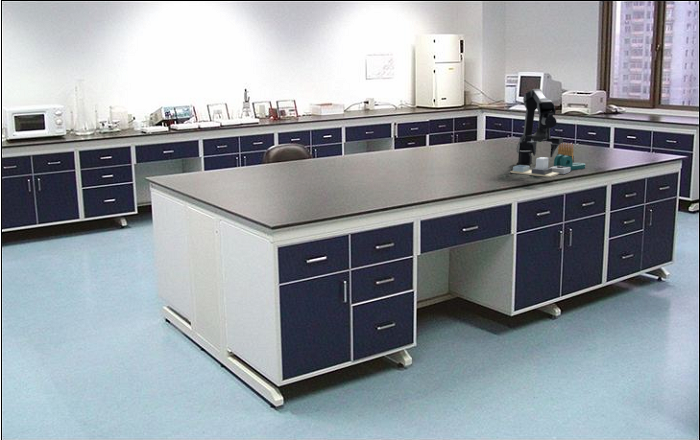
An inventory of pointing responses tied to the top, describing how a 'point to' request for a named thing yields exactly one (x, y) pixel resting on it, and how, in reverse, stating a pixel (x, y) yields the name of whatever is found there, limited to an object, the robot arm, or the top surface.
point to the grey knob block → (561, 169)
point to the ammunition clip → (566, 150)
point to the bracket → (561, 161)
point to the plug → (542, 163)
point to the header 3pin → (521, 168)
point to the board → (536, 174)
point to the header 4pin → (541, 171)
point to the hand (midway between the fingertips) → (542, 156)
